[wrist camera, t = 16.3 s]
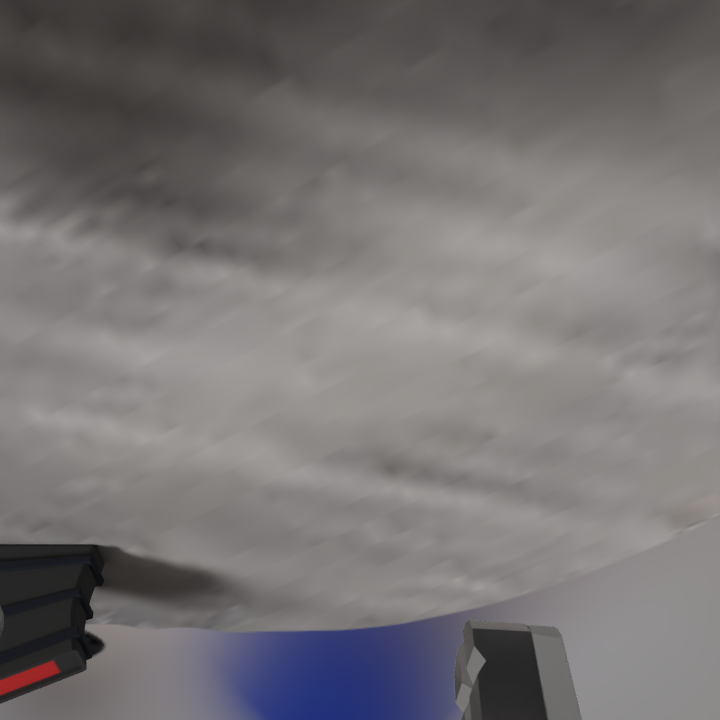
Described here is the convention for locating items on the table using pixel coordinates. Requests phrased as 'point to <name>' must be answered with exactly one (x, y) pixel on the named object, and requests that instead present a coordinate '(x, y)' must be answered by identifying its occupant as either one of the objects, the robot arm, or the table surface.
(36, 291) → the table surface
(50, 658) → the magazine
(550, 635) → the robot arm
